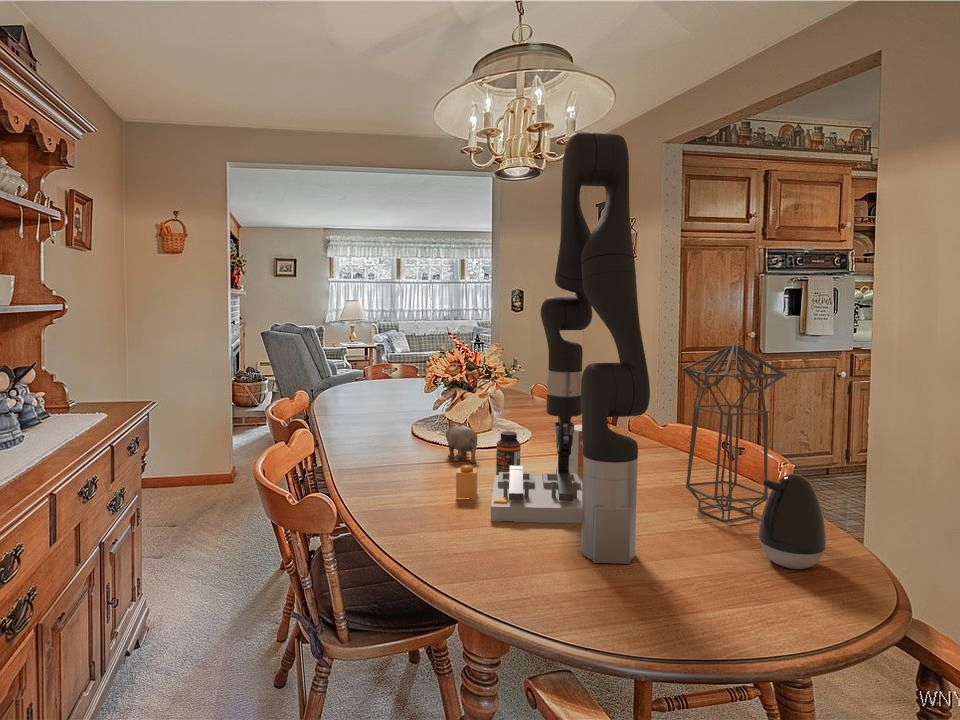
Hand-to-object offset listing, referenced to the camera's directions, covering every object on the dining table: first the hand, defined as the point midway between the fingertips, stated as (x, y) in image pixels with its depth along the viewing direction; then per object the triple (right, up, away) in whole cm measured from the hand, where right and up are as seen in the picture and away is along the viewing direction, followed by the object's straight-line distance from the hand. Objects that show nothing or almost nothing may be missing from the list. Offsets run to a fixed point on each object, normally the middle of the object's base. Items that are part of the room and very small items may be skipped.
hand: (563, 472), depth 137 cm
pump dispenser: (+34, -10, -29) cm, 46 cm away
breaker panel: (-5, -7, +2) cm, 9 cm away
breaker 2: (0, -2, -3) cm, 4 cm away
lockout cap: (-21, -7, +7) cm, 23 cm away
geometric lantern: (+34, -8, -3) cm, 35 cm away
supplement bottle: (-11, -5, +23) cm, 26 cm away
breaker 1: (-10, -2, -3) cm, 11 cm away
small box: (+7, -6, +22) cm, 24 cm away
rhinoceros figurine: (-23, -4, +44) cm, 50 cm away
